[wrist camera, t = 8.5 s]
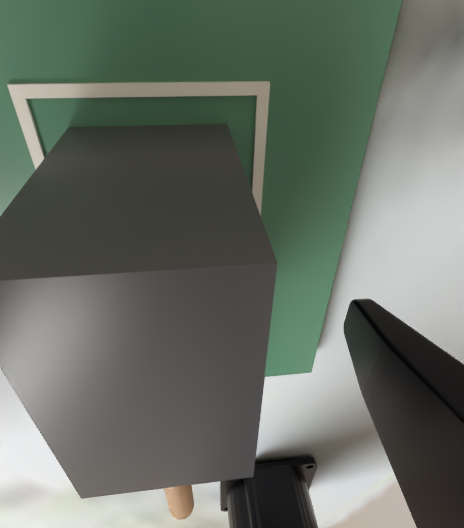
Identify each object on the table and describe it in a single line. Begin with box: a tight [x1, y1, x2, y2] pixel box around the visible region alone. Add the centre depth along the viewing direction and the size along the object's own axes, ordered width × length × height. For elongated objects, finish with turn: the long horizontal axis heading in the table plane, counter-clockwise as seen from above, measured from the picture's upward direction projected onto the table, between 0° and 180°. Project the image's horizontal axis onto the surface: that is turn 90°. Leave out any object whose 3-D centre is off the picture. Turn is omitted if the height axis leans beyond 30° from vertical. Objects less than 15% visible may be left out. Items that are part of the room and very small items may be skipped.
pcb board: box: [0, 0, 402, 377], centre depth 10 cm, size 16×12×4 cm
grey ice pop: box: [0, 124, 277, 519], centre depth 10 cm, size 11×4×6 cm, turn 179°
